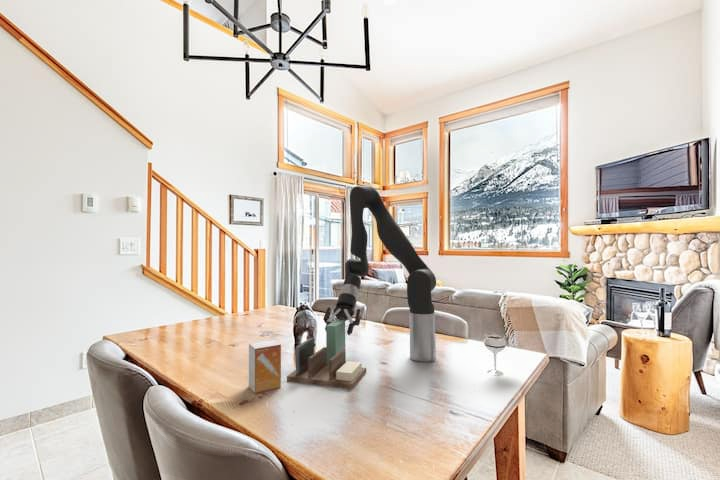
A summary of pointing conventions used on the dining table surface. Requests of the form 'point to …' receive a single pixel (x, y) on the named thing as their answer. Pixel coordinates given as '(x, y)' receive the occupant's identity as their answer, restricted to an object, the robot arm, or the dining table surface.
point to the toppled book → (349, 371)
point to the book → (335, 338)
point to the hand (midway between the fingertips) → (337, 333)
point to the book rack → (325, 371)
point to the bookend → (304, 355)
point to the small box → (264, 366)
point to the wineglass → (495, 348)
